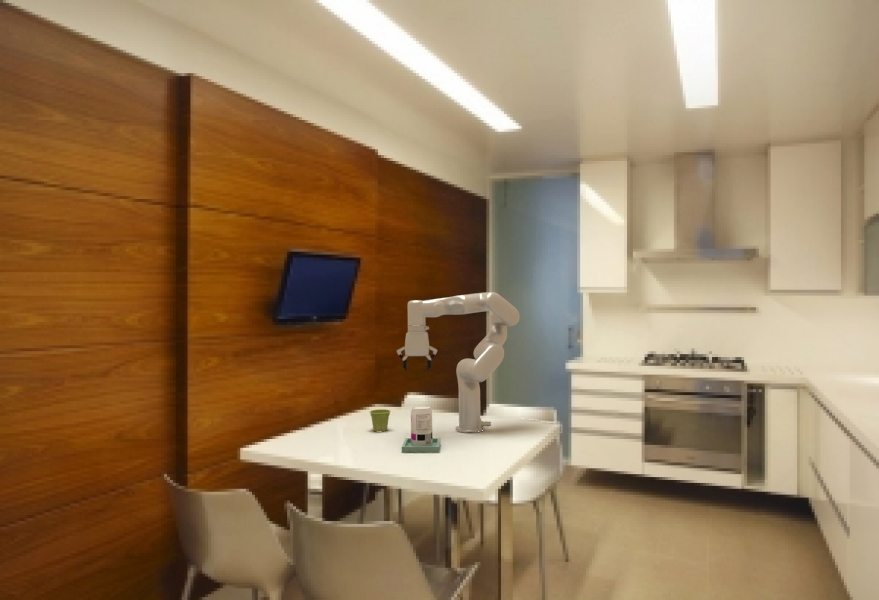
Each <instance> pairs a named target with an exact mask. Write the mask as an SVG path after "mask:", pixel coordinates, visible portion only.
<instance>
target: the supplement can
mask: <svg viewBox="0 0 879 600" xmlns="http://www.w3.org/2000/svg"><path fill="white" fill-rule="evenodd" d="M410 438H411V445H412V446H431V445H432V444H433V441H432V438H433V411H432V407H431V406H427V405H416V406H413V407H412V409H411V411H410Z"/></svg>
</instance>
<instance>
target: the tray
mask: <svg viewBox="0 0 879 600" xmlns="http://www.w3.org/2000/svg"><path fill="white" fill-rule="evenodd" d="M432 441H433V444H432V445H431V446H412V445H411V437H406V438H405V439H404V441H403V443H402V445H401V453H402V454H403V453H404V454H405V453H406V454H411V453H412V454H414V453H415V454H419V453H420V452H421V453H420V454H422V453H424V454H425V453H426V452H432V454H436V453H437V454H438V453H440V449H441V444H440V443H441V438H440V437H432Z"/></svg>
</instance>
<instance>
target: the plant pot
mask: <svg viewBox="0 0 879 600" xmlns="http://www.w3.org/2000/svg"><path fill="white" fill-rule="evenodd" d="M369 413H370V417H371V422H372V430H373V432H376V431H383V432H384V431H385V430H387V431H388V425H389V417H390V414H391V410H390V409H387V408H386V409H373V410H370V411H369ZM385 432H386V431H385Z"/></svg>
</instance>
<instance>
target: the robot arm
mask: <svg viewBox="0 0 879 600" xmlns="http://www.w3.org/2000/svg"><path fill="white" fill-rule="evenodd" d="M481 312H491V313H490V314H489V319H490V330H489V331H488V333H487V334H486V335H485V337H484V338H483V339H482V340H481V341H480V342H479V343H478V344H477V345H476V346H475V347H474V350H473V357H474V359H473V358H464V359H461V360H460V361H459V362H458V363H457V365H456V371H455V372H456V377H457V385H458V387H457V388H458V425H457V426H455V430H457V431H456V432H458V431H460V432H459V433H463V432H476V433H479V432H478V431H481V432H483V431H485V427H491V426H492V421H487V420H486V421H483V420H482V418H481V388H480V383H482V382H484V381H486V380H487V379H488V378H489V377H490V376H491V375H492V374H493V373H494V371H496V369H497V368H498V367H499V366H500V365H501V363H502V362H503V361H504V357H505V349H504V347H503V346H504V344H505V342H506V340H507V339H508V327H513V326H516V325H517V324H518V323H519V321H520V317H521V316H520V312H519V311H518V309H517V308H516V307H515V306H514V305H513V304H512V303H510V302H509V301H508V300H507V299H506V298H504V297H503V296H501V295H500V294H499V293H497V292H494V291H488V292H478V293H469V294H461V295H460V294H459V295H454V296H449V297H442V298H434V299H425V300H422V299H421V300H420V299H418V300H415V299H414V300H409V301H408V302H407V332H405V333H406V334H405V341H404V346H402V347H401V348H399V349H396V353H397V355H398V357H399V358H400V359H401V360H402V364H403V369H404V371H407V370H408V359H407V358H408V357H426V358H427V370H428V371H430V370H431V369H430V368H432V360H433V358H434V357H436V354H437V352H438V349H437V348H435V347H433V346H431V345H430V342H429V341H430V339H429V333H428V332H427V330H430V327H429V326H427V325H426V323H427V322H426V318H438V317H441V316H444V315H445V316H446V315H451V316H452V315H454V316H455V315H458V316H459V315H467V314H474V313H481ZM403 351H404V355H403V354H402V352H403ZM430 351H432V354H431V355H430ZM482 430H483V431H482Z"/></svg>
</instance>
